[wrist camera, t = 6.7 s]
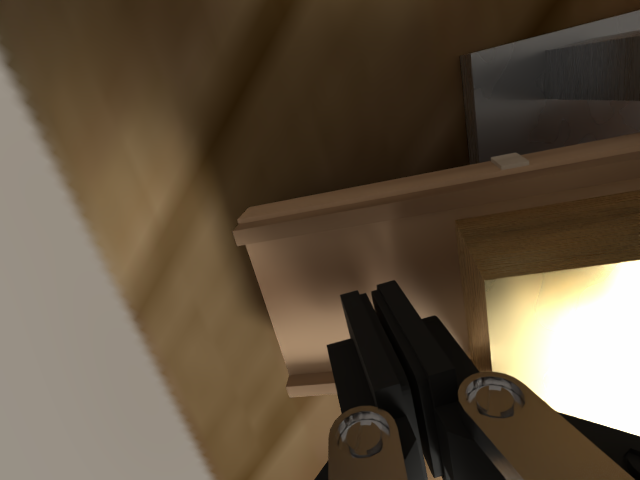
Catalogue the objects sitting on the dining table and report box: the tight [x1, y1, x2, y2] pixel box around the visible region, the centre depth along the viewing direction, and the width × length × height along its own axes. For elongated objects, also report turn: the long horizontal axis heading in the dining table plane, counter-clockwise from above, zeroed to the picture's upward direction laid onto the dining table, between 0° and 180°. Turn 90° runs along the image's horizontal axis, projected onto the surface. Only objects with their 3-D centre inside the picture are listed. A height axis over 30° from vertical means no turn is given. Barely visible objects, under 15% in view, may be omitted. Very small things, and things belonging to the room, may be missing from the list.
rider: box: [454, 190, 640, 436], centre depth 10 cm, size 5×6×4 cm
